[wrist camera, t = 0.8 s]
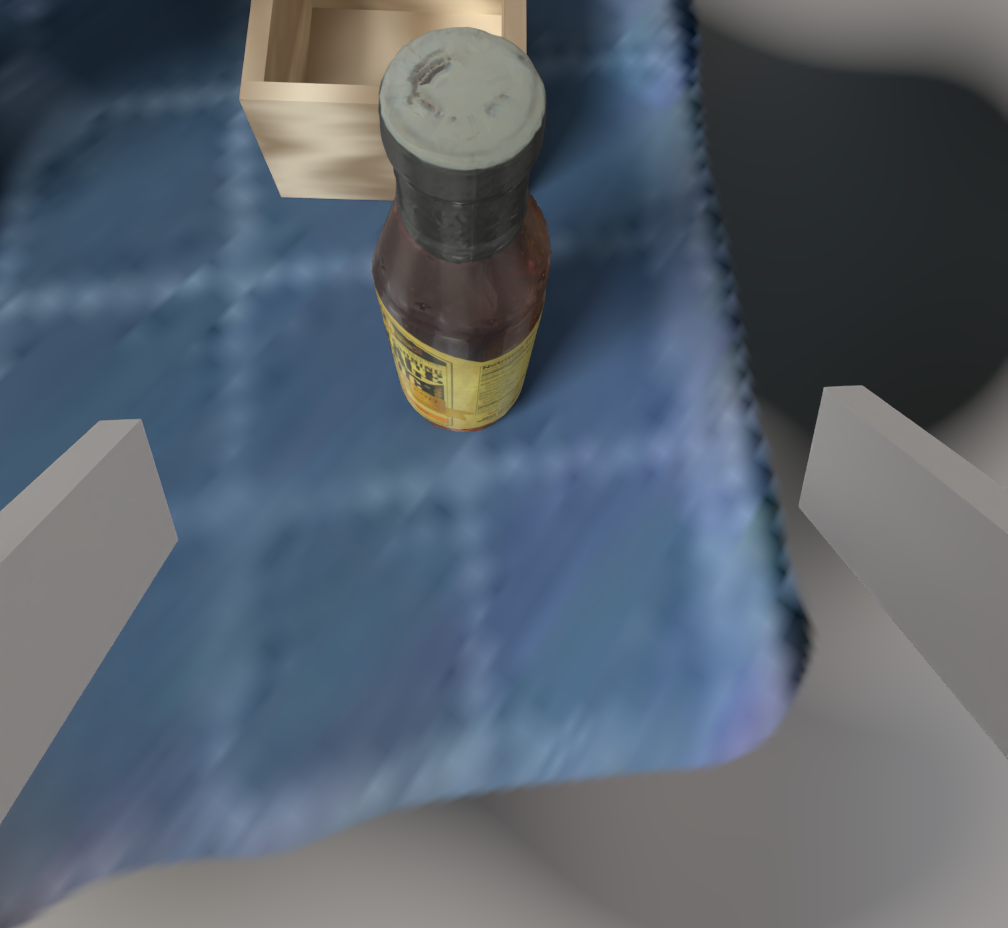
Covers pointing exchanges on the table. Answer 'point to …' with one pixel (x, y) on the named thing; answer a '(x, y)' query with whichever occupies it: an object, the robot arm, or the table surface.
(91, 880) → the table surface
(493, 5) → the crate
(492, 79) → the sauce bottle
